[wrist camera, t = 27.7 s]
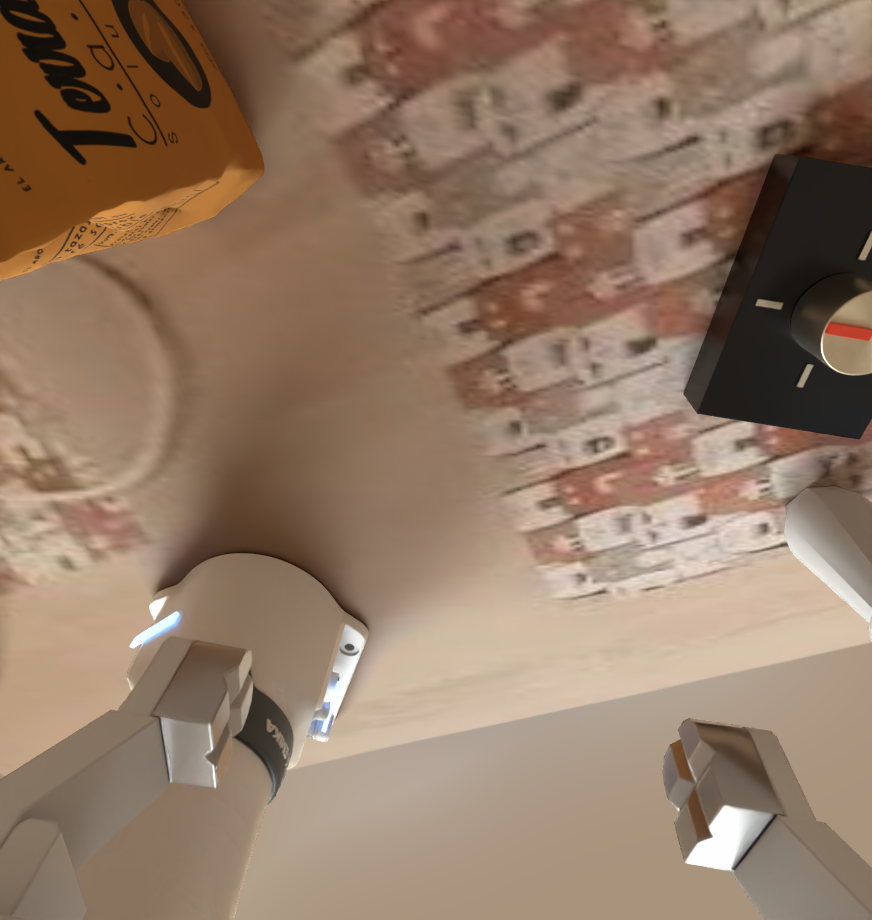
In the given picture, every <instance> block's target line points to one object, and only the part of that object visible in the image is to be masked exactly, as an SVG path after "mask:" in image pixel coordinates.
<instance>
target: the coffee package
mask: <svg viewBox="0 0 872 920" xmlns="http://www.w3.org/2000/svg"><path fill="white" fill-rule="evenodd" d="M263 173H264V163H263V158H262V155H261V152H260V150H259V148H258V145H257V143H256V141H255V139H254V137H253V134H252V132H251V130H250V128H249V126H248V124H247V122H246V120H245V118H244V116H243V114H242V112H241V110H240V108H239V106H238V104H237V102H236V100H235V98H234V96H233V94H232V92H231V90H230V89H229V87H228V85H227V83H226V81H225V79H224V78H223V76H222V74H221V72H220V70H219V68H218V66H217V64H216V62H215V60H214V58H213V56H212V55H211V53H210V51H209V49H208V47H207V46H206V44H205V42H204V40H203V38H202V37H201V35H200V33H199V31H198V29H197V28H196V26H195V24H194V22H193V20H192V19H191V17H190V15H189V13H188V11H187V10H186V8H185V6H184V4H183V2H182V0H0V280H5V279H9V278H12V277H15V276H19V275H22V274H26V273H29V272H32V271H34V270H36V269H38V268H41V267H43V266H45V265H47V264H49V263H52V262H57V261H62V260H65V259H68V258H70V257H72V256H75V255H80V254H84V253H88V252H93V251H97V250H102V249H106V248H111V247H116V246H121V245H126V244H129V243H133V242H137V241H140V240H144V239H148V238H154V237H159V236H164V235H166V234H169V233H172V232H175V231H177V230H180V229H183V228H185V227H188V226H191V225H193V224H196V223H199V222H201V221H204V220H207V219H210V218H212V217H214V216H216V215H217V214H218V213H219V212H220V211H221V210H222V209H223V208H224V207H225V206H226V205H228V204H229V203H231V202H233V201H234V200H235V199H237V198H238V197H239V196H241V195H242V194H243V193H244V192H245V191H246V190H247V189H248V188H249V187H250V186H251V185H252V184H254V183H255V182H256V181H257V180H258V179H259V178H260V177H261V176H262V175H263Z"/></svg>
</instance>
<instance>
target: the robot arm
mask: <svg viewBox="0 0 872 920" xmlns="http://www.w3.org/2000/svg"><path fill="white" fill-rule="evenodd" d="M149 609H150V612H151V614H152V617H153V619H154V622H153V624H152V626H151V628H149V629H148V630H146V631H145V632H143V633H141V634H140V635H138V636H137V637H135V639H134V640H133V642H132V643H131V645H130V647H132V648H134V647H136V646H137V645H139V644H140V643H142V644H141V646H140V648H139V650H138V651H137V653H136V655H135V657H134V659H133V661H132V662H131V664H130V666H129V668H128V671H127V676H126V678H127V679H128V680H129V685H130V688H131V693H130V694H129V696H128V697H127V699H126V701H124V702H123V704H121V706H120V707H119V709H118V711H115V710H110V711H108V712H107V713H105V714H103V715H102V716H100V717H99V718H97V719H96V720H94V721H92V722H91V723H89V724H88V725H86V726H84V727H83V728H81V729H80V730H78V731H76V732H75V733H73V734H72V735H70V736H69V737H67V738H65V739H64V740H62V741H61V742H59V743H57V744H56V745H54V746H53V747H51V748H50V749H48V750H46V751H45V752H43V753H42V754H40V755H38V756H37V757H35V758H34V759H32V760H30V761H29V762H27V763H26V764H24V765H23V766H21V767H19V768H18V769H16V770H15V771H13V772H11V773H10V774H8V775H7V776H5V777H3V778H2V779H0V920H234V916H235V911H236V907H237V903H238V900H239V896H240V893H241V889H242V886H243V882H244V879H245V875H246V872H247V868H248V865H249V862H250V858H251V855H252V852H253V848H254V845H255V842H256V838H257V835H258V832H259V829H260V825H261V822H262V819H263V816H264V813H265V810H266V806H267V805H268V804H269V803H270V802H271V801H272V800H273V798H274V797H275V796H276V793H277V791H278V789H279V788H280V786H281V784H282V783H283V780H284V778H285V775H286V773H287V770H288V769H290V768H292V767H294V766H295V765H297V764H298V762H299V759H300V756H301V753H302V750H303V747H304V744H305V741H306V738H312V739H315V740H318V741H322V742H325V741H326V742H327V740H328V737H329V734H330V730H331V728H332V725H333V723H334V721H335V718H336V716H337V713H338V711H339V708H340V706H341V703H342V701H343V698H344V696H345V693H346V691H347V688H348V686H349V683H350V681H351V679H352V676H353V674H354V671H355V669H356V666H357V664H358V661H359V659H360V656H361V654H362V651H363V649H364V646H365V644H366V641H367V639H368V636H369V632H368V629H367V628H366V627H365V626H364V625H363V624H362V623H361V622H360V621H358V620H357V619H355V618H354V617H352V616H351V615H349V614H348V613H346V612H345V611H343V610H342V609H341V607H340V606H339V605H338V604H337V602H336V601H335V600H334V598H333V597H332V596H331V594H330V593H329V592H328V591H327V589H326V588H325V587H324V586H323V585H322V584H321V583H319V582H318V581H317V580H316V579H315V578H313V577H312V576H311V575H309V574H308V573H306V572H305V571H303V570H301V569H300V568H298V567H296V566H294V565H292V564H290V563H287V562H285V561H282V560H279V559H276V558H273V557H269V556H264V555H259V554H249V553H233V554H226V555H221V556H216V557H213V558H210V559H208V560H206V561H204V562H202V563H200V564H199V565H197V566H196V567H194V568H193V569H192V570H191V571H190V572H189V573H188V574H187V575H186V577H185V578H184V579H183V580H182V581H181V582H180V583H178V584H177V585H175V586H172V587H169V588H166V589H163V590H161V591H159V592H157V593H156V594H155V595H154V597H153V599H152V600H151V602H150V604H149ZM678 731H679V735H680V738H681V739H680V740H678V741H677V742H675V743H672V744H670V746H669V748H668V750H667V752H666V754H665V756H664V764H663V779H664V786H665V790H666V794H667V798H668V799H669V801H670V802H671V803H672V804H673V805H674V806H675V808H676V809H677V810H678V811H679V814H678V816H677V818H676V820H675V822H674V825H675V828H676V833H677V836H678V840H679V844H680V847H681V851H682V855H683V858H684V862H685V863H689V864H694V865H699V866H705V867H710V868H716V869H721V870H726V871H732V872H733V873H732V875H733V876H734V878H735V879H736V881H737V882H738V883H739V885H740V886H741V887H742V889H743V890H744V892H745V893H746V894H747V896H748V897H749V898H750V900H751V901H752V903H753V904H754V905H755V907H756V908H757V910H758V911H759V912H760V914H761V915H762V916H763V918H764V919H765V920H872V868H871V867H870V866H869V865H868V864H867V863H866V862H865V861H864V860H863V859H862V858H861V857H860V856H859V855H858V854H857V853H856V852H855V851H854V850H853V849H852V848H851V847H850V846H849V845H848V844H846V842H844V841H843V840H842V839H841V838H840V837H839V836H838V835H837V834H836V833H835V832H834V831H833V830H832V829H831V828H830V827H829V826H828V825H827V824H826V823H823V822H818V821H816V818H815V816H814V814H813V812H812V810H811V808H810V806H809V804H808V802H807V800H806V797H805V795H804V793H803V791H802V789H801V787H800V785H799V783H798V780H797V779H796V776H795V774H794V772H793V770H792V768H791V766H790V764H789V762H788V759H787V757H786V755H785V753H784V751H783V749H782V747H781V745H780V743H779V740H778V738H777V737H776V736H775V735H774V734H773V733H772V732H771V731H768V730H761V729H755V728H749V727H741V726H739V725H733V724H726V723H719V722H712V721H705V720H698V719H691V718H688V719H686V720H685V721H683V722H682V724H681V726H680V727H679V729H678Z"/></svg>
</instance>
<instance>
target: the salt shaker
mask: <svg viewBox="0 0 872 920" xmlns="http://www.w3.org/2000/svg"><path fill="white" fill-rule="evenodd" d="M786 514H787V517H786V524H785V532H784V536H785V538H786V541H787V543H788V545H789V547H790V550H791V552H792V554H793V555H794V556H796V557H797V558H798V559H799V560H800V561H801V562H802V563H803V564H804V565H806V566H807V567H808V568H809V569H810V570H811V571H812V572H813V573H814V574H815V575H817V576H818V577H819V578H820V579H821V580H822V581H823V582H824V583H825V584H826V585H828V586H829V587H830V588H831V589H832V590H833V591H834V592H835V593H836V594H837V595H839V596H840V597H841V598H842V599H843V600H844V601H845V602H846V603H847V604H849V605H850V606H851V607H852V608H853V609H854V610H855V611H856V612H857V613H858V614H860V615H861V616H862V617H863V618H864V619H865V620H866V621H867V622H868V623H869V626H868V631H869V634H870V637H871V640H872V502H870V501H869V500H868V499H866V498H865V497H863V496H862V495H860V494H859V493H857V492H853V491H850V490H846V489H843V488H839V487H836V486H830V487H812V488H806V489H805V490H803V491H802V492H801V493H800V494H799V495H798V496H796V497H795V498H794V499H793V500H792V501H791V502H789V503H788V504H787V505H786Z"/></svg>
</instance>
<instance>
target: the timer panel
mask: <svg viewBox="0 0 872 920" xmlns="http://www.w3.org/2000/svg"><path fill="white" fill-rule="evenodd" d="M843 273H853V274H858V275H862V276H864V277H866V278H869V279H871V280H872V168H868V167H861V166H855V165H849V164H842V163H836V162H830V161H824V160H817V159H811V158H805V157H797V156H789V155H780V154H775V155H774V158H773V161H772V163H771V166H770V168H769V171H768V174H767V176H766V179H765V182H764V184H763V187H762V189H761V192H760V195H759V197H758V200H757V203H756V205H755V208H754V210H753V213H752V216H751V218H750V221H749V224H748V226H747V229H746V231H745V234H744V237H743V239H742V242H741V245H740V247H739V250H738V252H737V255H736V258H735V260H734V263H733V266H732V268H731V271H730V273H729V276H728V279H727V281H726V284H725V287H724V289H723V292H722V294H721V297H720V300H719V302H718V305H717V308H716V310H715V313H714V315H713V318H712V321H711V323H710V326H709V329H708V331H707V334H706V336H705V339H704V342H703V344H702V347H701V350H700V352H699V355H698V357H697V360H696V363H695V365H694V368H693V371H692V373H691V376H690V378H689V381H688V384H687V386H686V389H685V392H684V396H685V397H686V398H687V400H688V401H689V403H690V404H691V405H692V407H693V408H694V410H695V411H696V412H697V414H702V415H709V416H715V417H721V418H728V419H734V420H740V421H747V422H753V423H759V424H766V425H772V426H778V427H784V428H791V429H797V430H803V431H810V432H816V433H822V434H829V435H835V436H841V437H848V438H854V439H860V438H861V436H862V435H863V433H864V431H865V429H866V428H867V426H868V424H869V422H870V421H871V419H872V373H869V374H865V375H846V374H841V373H839V372H836V371H835V370H833V369H831V368H830V367H829V366H827V365H826V364H825V363H823V362H822V361H820V360H819V359H818V358H816V357H815V356H814V355H812V354H811V353H809V352H808V351H807V350H805V349H804V348H802V347H801V346H800V345H799V344H798V343H797V342H796V340H795V339H794V337H793V334H792V330H791V319H792V315H793V311H794V309H795V307H796V305H797V303H798V301H799V300H800V298H801V297H802V296H803V295H804V294H805V292H806V291H807V290H809V289H810V288H811V287H812V286H813V285H815V284H816V283H818V282H819V281H821V280H823V279H825V278H828V277H830V276H833V275H837V274H843Z"/></svg>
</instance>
